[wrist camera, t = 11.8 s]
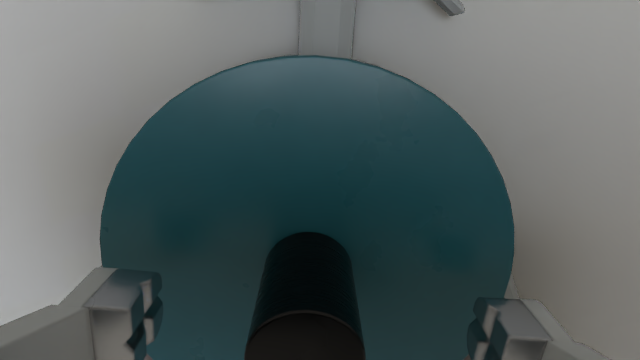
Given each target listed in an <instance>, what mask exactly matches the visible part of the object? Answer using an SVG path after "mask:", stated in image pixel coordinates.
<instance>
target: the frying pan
mask: <svg viewBox="0 0 640 360" xmlns="http://www.w3.org/2000/svg"><path fill="white" fill-rule="evenodd" d="M434 1H435V2H436V3H437V4H438V5H439V6H440V7H441V8H442V9H443V10H444V11H445V12H446V13H447V14H448V15H449V16H453V15H458V14H462V13H464V12H465V8H464V6H463V4H462V3H461V2H460V0H434ZM355 7H356V0H300V23H299V47H298V55H323V56H332V57H341V58H348V59H351V54H352V43H353V31H354V19H355ZM101 267H103V266H101ZM504 298H506V299H520V298H519V295H518V292H517V289H516V286H515V282H514V279H513V276H512V273H511V276H510V280H509V283H508V286H507V289H506V293H505V296H504ZM144 360H153V359H152V358H151V357H150V356H149V355H148V354H147V355H146V357H145V358H144ZM464 360H471V358H470V356H469V354H468V356H467V357H466V358H465V359H464Z"/></svg>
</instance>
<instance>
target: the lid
mask: <svg viewBox="0 0 640 360" xmlns="http://www.w3.org/2000/svg"><path fill="white" fill-rule="evenodd" d="M100 247H101V258H102V266H103V267H106V268H118V269H129V270H139V271H150V272H159V274H160V275H161V278H162V289H161V290H160V292H159V293H158V295H157V296H158V297H159V298H160V299H161V301H162V302H163V318H162V323H161V326H160V330H159V333H158V335H157V336H156V338H155V340H154V341H153V342H151V343H150V344H148V345H146V349H147V354H148V355H149V356H150V357H151V358H152V359H153V360H464V359H465V358H466V357H467V356H468V354H469V353H468V349H467V331H468V327H469V324H470V323H471V322H473V321H474V320H475V319H476V318H477V317H476V316H475V314H474V312H473V307H474V304H475V301H476V300H477V298H478V297H488V298H504V296H505V293H506V289H507V286H508V283H509V280H510V276H511V270H512V264H513V257H514V223H513V216H512V209H511V203H510V200H509V197H508V193H507V190H506V187H505V184H504V180H503V178H502V176H501V174H500V172H499V170H498V167H497V165H496V163H495V161H494V159H493V157H492V155H491V154H490V152H489V151H488V149H487V148H486V146H485V145H484V144H483V142H482V141H481V139H480V138H479V136H478V135H477V133H476V132H475V131H474V130H473V129H472V128H471V127H470V126H469V125H468V124H467V123H466V121H465V120H464V119H463V118H462V117H461V116H460V115H459V114H458V113H457V112H456V111H455V110H453V109H452V108H451V107H450V106H448V105H447V104H446V103H445V102H443V101H442V100H441V99H440V98H438V97H437V96H436V95H435V94H433V93H432V92H430V91H428V90H426V89H425V88H423V87H421V86H420V85H418V84H416V83H414V82H413V81H411V80H409V79H407V78H405V77H403V76H400V75H398V74H395V73H393V72H390V71H388V70H386V69H383V68H381V67H378V66H376V65H372V64H368V63H364V62H360V61H356V60H352V59H348V58H341V57H332V56H323V55H287V56H279V57H273V58H267V59H261V60H255V61H252V62H249V63H246V64H242V65H239V66H236V67H233V68H230V69H226V70H223V71H221V72H219V73H217V74H215V75H212V76H210V77H208V78H206V79H204V80H202V81H200V82H198V83H196V84H194V85H192V86H191V87H189V88H188V89H186V90H185V91H183V92H182V93H180V94H179V95H177V96H176V97H174V98H173V99H171V100H170V101H169V102H168V103H166V104H165V105H164V106H163V107H162V108H161V109H160V110H159V111H158V112H157V113H155V114H154V115H153V116H152V117H151V118H150V119H149V120H148V121H147V122H146V123H145V125H144V126H143V127H142V128H141V129H140V131H139V132H138V133H137V134H136V136H135V137H134V138H133V139H132V140H131V142H130V143H129V145H128V147H127V148H126V150H125V152H124V154H123V155H122V157H121V159H120V160H119V162H118V164H117V166H116V168H115V171H114V173H113V176H112V178H111V181H110V183H109V186H108V189H107V192H106V197H105V201H104V206H103V210H102V215H101V230H100Z"/></svg>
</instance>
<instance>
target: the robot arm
mask: <svg viewBox="0 0 640 360" xmlns="http://www.w3.org/2000/svg"><path fill="white" fill-rule="evenodd" d="M161 289H162V278H161V275H160V274H159V272H150V271H139V270H129V269H118V268H106V267H99V268H95V269H94V270H93V271H92V272H91V273H90V274H89V275H88V276H87V277H86V278H85V279H84V280H83V281H82V282H81V283H80V284H79V285H78V286H77V287H76V288H75V289H74V290H73V291H72V292H71V293H70V294H69V295H68V296H67V297H66V298H65V299H64V300H63V301H62V302H61V303H60V304H59V305H50V306H48V307H45V308H43V309H40V310H38V311H35V312H33V313H31V314H28V315H26V316H23V317H21V318H18V319H16V320H14V321H11V322H9V323H6V324H4V325H2V326H0V360H144V358H145V357H146V355H147V349H146V345H148V344H150V343H151V342H153V341H154V340H155V338H156V336H157V335H158V333H159V330H160V326H161V323H162V318H163V302H162V301H161V299H160V298H159V297H158V296H157V295H158V293H159V292H160V290H161ZM473 312H474V314H475V316H476V317H477V318H476V319H475V320H474V321H473V322H471V323H470V324H469V327H468V331H467V349H468V353H469V356H470V358H471V360H611V359H609V358H607V357H606V356H604V355H602V354H600V353H599V352H597V351H595V350H593V349H592V348H590V347H588V346H586V345H585V344H583V343H576V342H575V341H574V340H573V339H572V338H571V336H570V335H569V334H568V333H567V332H566V331H565V329H564V328H563V327H562V326H561V325H560V324H559V322H558V321H557V320H556V319H555V318H554V317H553V315H552V314H551V313H550V312H549V311H548V310H547V308H546V307H545V306H544V305H543V304H542V303H541V302H540V301H538V300H534V299H506V298H488V297H478V298H477V300H476V301H475V304H474V307H473Z"/></svg>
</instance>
